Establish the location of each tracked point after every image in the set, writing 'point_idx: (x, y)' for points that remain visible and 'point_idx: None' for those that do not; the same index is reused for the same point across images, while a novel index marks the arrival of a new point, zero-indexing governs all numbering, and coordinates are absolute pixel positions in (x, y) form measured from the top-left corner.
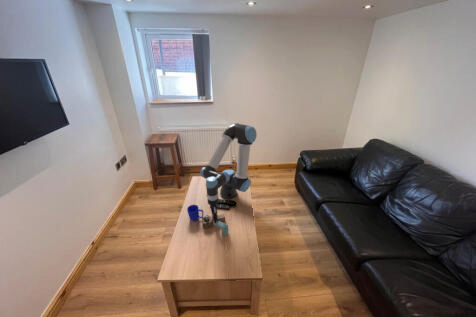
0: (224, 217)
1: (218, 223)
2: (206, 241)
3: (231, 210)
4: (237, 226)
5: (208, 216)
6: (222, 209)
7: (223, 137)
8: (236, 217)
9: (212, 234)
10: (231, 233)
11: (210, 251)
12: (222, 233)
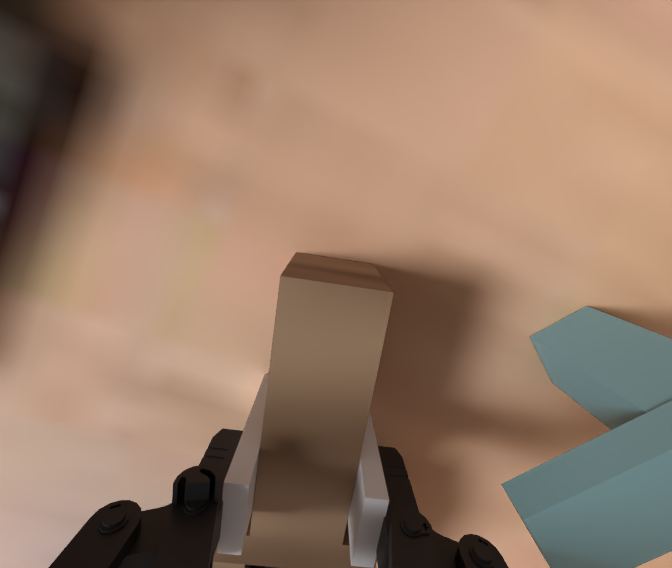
0: (389, 302)
1: (595, 550)
2: (531, 558)
3: (138, 25)
4: (561, 114)
5: (220, 563)
6: (54, 188)
7: None
8: (365, 21)
9: (480, 483)
10: (617, 267)
11: (667, 555)
12: (568, 391)
